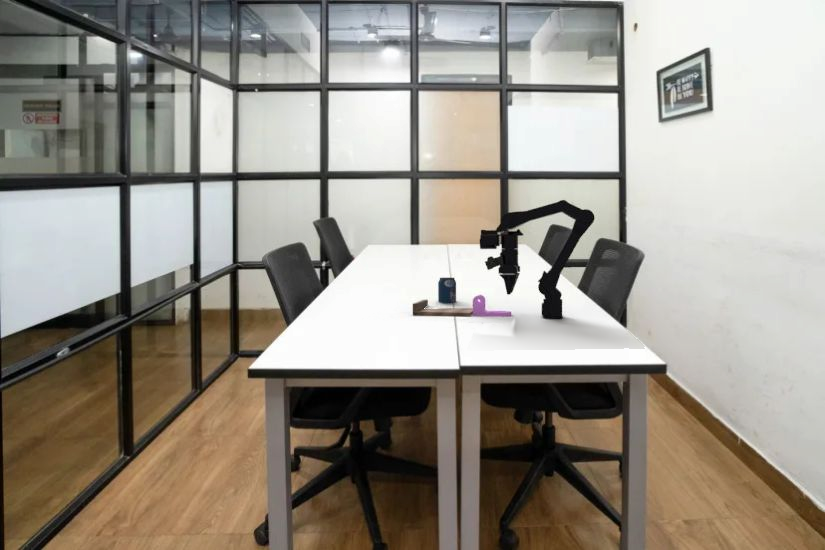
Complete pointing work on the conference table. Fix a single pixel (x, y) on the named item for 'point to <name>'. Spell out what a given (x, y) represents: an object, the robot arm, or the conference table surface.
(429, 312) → the board
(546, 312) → the robot arm
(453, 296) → the soda can
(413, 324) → the conference table surface
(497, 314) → the bracket
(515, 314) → the conference table surface
